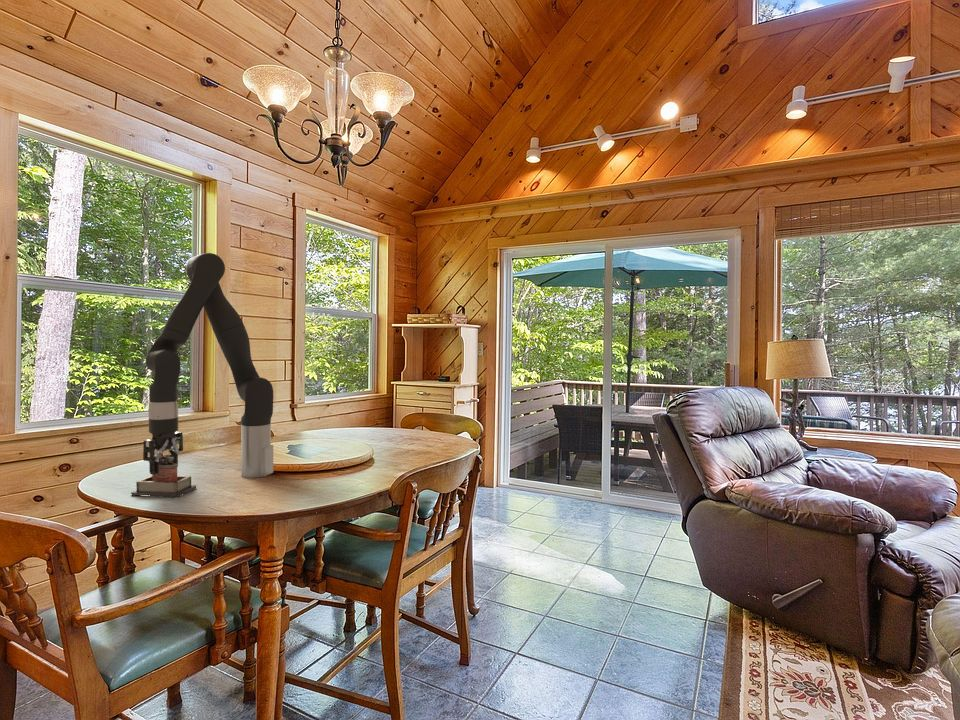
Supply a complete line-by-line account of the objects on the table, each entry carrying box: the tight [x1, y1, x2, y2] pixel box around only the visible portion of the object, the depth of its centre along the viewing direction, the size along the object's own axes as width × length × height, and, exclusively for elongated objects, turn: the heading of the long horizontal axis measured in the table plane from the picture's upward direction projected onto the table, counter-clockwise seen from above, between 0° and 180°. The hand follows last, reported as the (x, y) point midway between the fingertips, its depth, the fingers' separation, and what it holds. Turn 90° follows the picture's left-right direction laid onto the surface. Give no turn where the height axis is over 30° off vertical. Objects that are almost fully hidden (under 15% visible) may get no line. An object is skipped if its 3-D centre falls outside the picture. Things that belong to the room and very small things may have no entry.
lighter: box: [151, 454, 179, 482], centre depth 154 cm, size 8×3×10 cm, turn 80°
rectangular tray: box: [130, 475, 197, 498], centre depth 154 cm, size 9×14×4 cm, turn 86°
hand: (164, 470), depth 154 cm, fingers open, 8 cm apart
